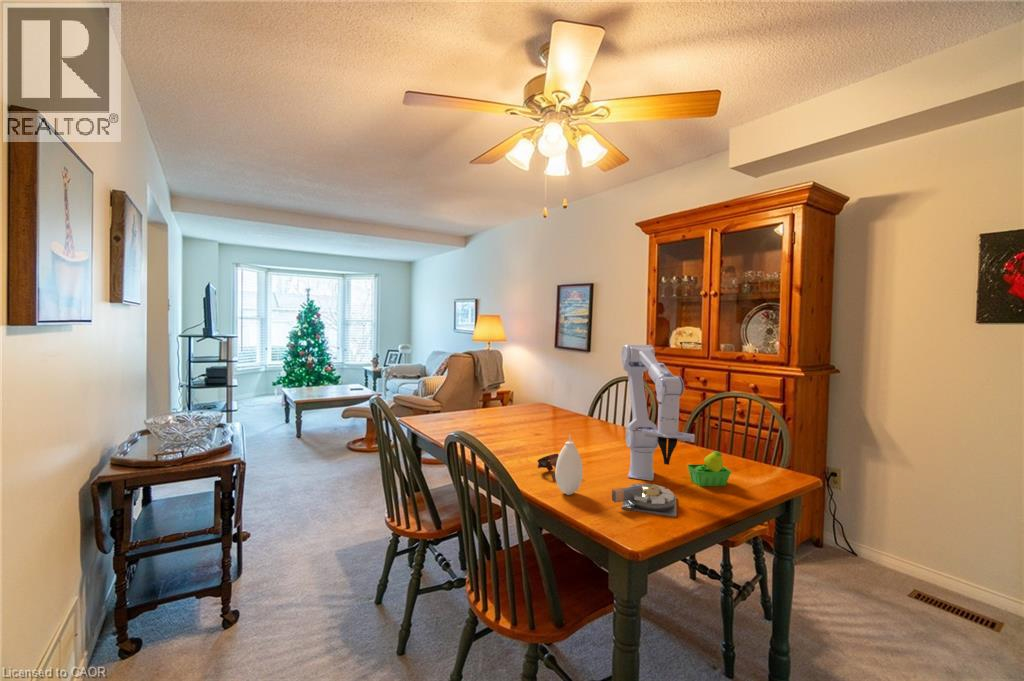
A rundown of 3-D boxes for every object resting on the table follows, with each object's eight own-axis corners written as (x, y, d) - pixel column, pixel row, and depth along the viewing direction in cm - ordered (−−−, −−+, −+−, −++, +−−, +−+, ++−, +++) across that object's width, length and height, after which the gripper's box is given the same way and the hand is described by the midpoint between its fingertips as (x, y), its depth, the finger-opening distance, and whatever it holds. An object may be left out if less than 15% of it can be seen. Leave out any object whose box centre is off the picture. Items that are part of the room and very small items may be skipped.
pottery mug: (545, 483, 143) (537, 458, 146) (541, 486, 152) (533, 462, 155) (580, 472, 146) (571, 447, 149) (574, 476, 154) (566, 452, 157)
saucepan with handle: (610, 500, 123) (610, 490, 123) (639, 484, 136) (640, 474, 136) (652, 514, 115) (652, 502, 115) (679, 495, 128) (679, 484, 128)
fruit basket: (717, 478, 150) (718, 445, 150) (734, 488, 141) (736, 452, 141) (685, 479, 148) (686, 445, 148) (700, 489, 140) (702, 453, 139)
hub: (626, 491, 137) (627, 476, 137) (676, 498, 132) (676, 482, 132) (621, 508, 124) (622, 492, 124) (676, 517, 119) (676, 500, 119)
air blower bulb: (574, 501, 128) (575, 438, 128) (550, 494, 133) (551, 433, 132) (586, 492, 135) (588, 433, 134) (563, 486, 139) (564, 428, 139)
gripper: (641, 417, 131) (639, 464, 132) (695, 422, 126) (693, 470, 127) (643, 413, 138) (641, 457, 138) (694, 417, 133) (692, 463, 133)
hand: (666, 463), depth 133 cm, fingers closed
